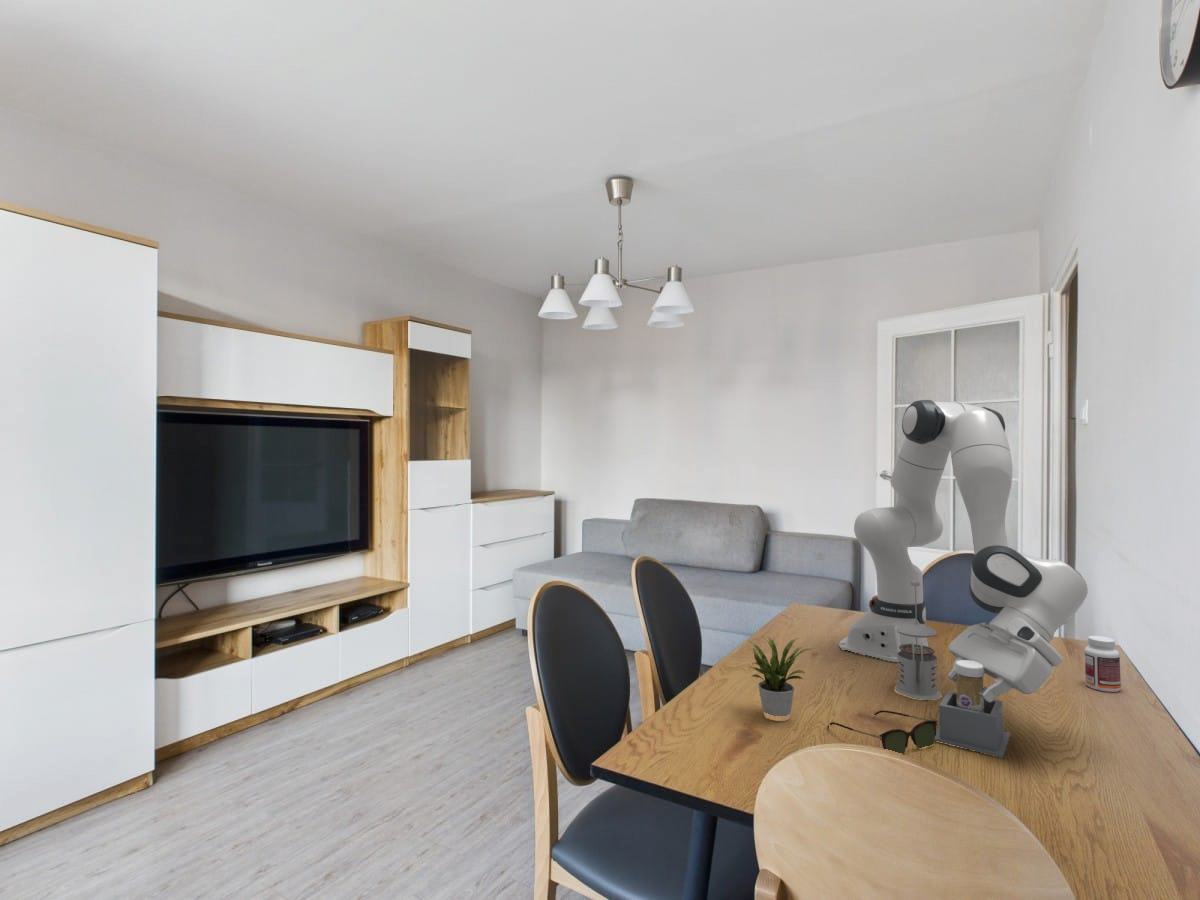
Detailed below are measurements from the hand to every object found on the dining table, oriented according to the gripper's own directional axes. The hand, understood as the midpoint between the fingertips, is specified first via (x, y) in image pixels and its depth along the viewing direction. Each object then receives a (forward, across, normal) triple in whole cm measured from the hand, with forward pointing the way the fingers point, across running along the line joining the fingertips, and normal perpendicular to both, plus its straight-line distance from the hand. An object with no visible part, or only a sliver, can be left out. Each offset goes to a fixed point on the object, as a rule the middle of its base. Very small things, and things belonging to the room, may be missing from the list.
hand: (967, 689), depth 117 cm
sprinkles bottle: (+6, 0, +7) cm, 9 cm away
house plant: (+28, -13, -15) cm, 35 cm away
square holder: (+6, 0, +7) cm, 9 cm away
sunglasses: (+18, -3, -4) cm, 19 cm away
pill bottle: (-26, -21, +39) cm, 51 cm away
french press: (+5, -22, +9) cm, 24 cm away
